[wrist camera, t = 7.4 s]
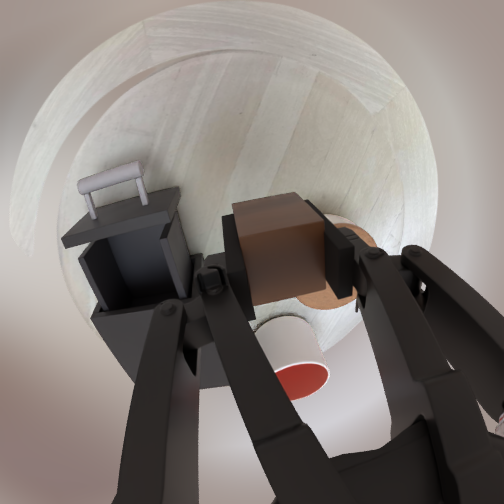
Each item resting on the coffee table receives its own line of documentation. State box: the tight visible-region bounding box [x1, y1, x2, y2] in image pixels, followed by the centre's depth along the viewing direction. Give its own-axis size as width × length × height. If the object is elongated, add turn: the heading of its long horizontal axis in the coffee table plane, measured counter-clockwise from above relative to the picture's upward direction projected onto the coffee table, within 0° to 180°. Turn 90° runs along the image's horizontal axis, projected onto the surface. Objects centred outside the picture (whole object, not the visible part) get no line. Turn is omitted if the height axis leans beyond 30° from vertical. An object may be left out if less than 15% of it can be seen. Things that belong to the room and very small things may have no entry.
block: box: [232, 192, 326, 306], centre depth 15 cm, size 4×4×5 cm
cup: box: [255, 316, 330, 401], centre depth 39 cm, size 10×10×10 cm
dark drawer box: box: [90, 253, 229, 389], centre depth 33 cm, size 15×13×10 cm
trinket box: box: [296, 214, 377, 310], centre depth 31 cm, size 11×11×9 cm
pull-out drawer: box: [61, 160, 194, 312], centre depth 27 cm, size 18×12×8 cm, turn 8°
